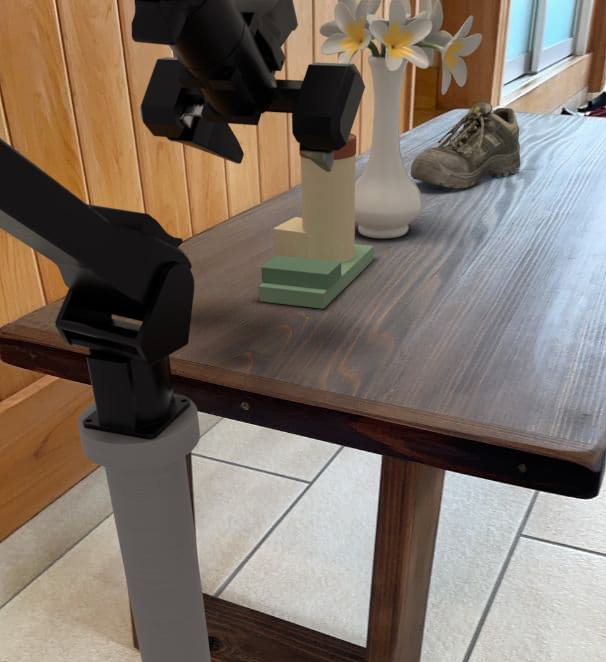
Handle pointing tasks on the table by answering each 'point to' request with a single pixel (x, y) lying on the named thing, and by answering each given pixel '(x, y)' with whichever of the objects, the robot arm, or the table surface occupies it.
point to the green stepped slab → (310, 278)
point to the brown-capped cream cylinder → (323, 211)
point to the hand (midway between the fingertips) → (284, 162)
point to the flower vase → (393, 97)
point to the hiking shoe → (472, 149)
